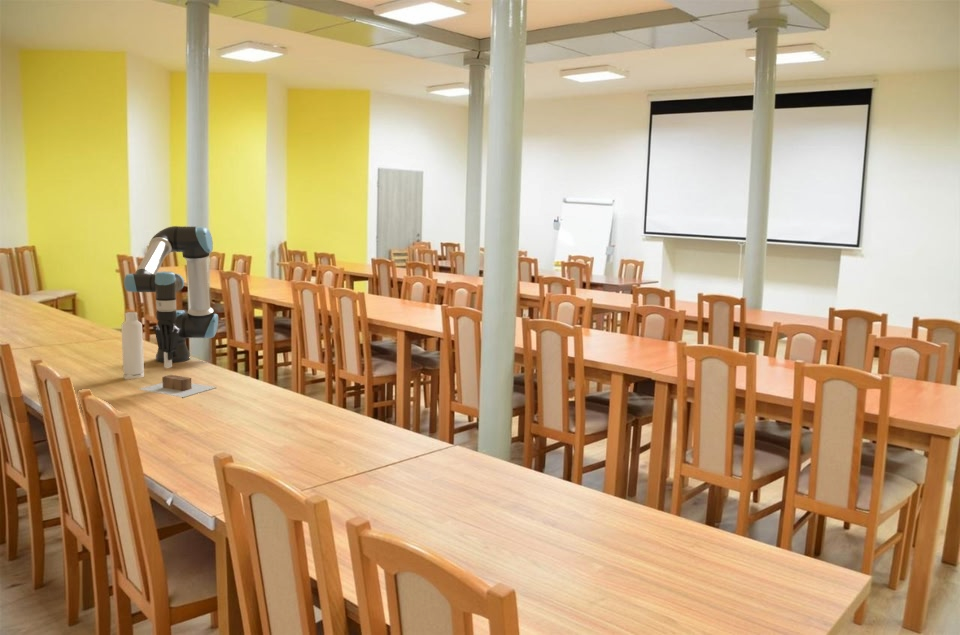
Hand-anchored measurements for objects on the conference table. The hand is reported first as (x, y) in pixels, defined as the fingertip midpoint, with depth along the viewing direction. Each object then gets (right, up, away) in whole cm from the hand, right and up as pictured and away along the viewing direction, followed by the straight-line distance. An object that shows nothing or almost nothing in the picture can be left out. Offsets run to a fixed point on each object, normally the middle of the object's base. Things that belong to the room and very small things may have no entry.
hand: (168, 367), depth 307 cm
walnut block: (-1, -6, +1) cm, 6 cm away
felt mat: (+4, -9, 0) cm, 10 cm away
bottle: (-22, -6, +17) cm, 28 cm away
